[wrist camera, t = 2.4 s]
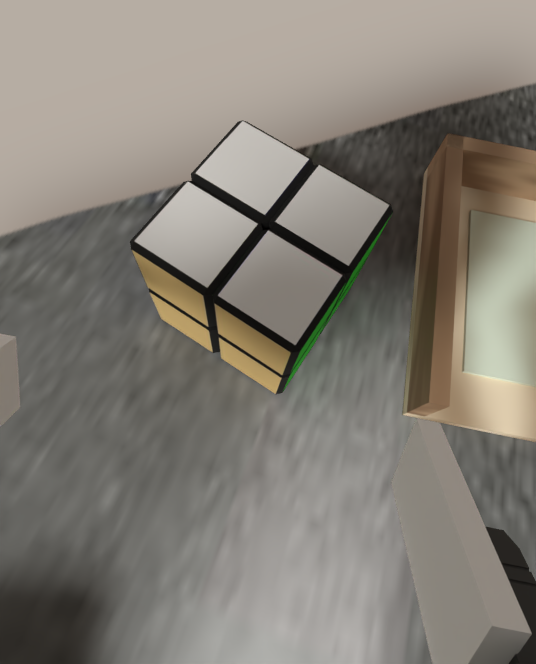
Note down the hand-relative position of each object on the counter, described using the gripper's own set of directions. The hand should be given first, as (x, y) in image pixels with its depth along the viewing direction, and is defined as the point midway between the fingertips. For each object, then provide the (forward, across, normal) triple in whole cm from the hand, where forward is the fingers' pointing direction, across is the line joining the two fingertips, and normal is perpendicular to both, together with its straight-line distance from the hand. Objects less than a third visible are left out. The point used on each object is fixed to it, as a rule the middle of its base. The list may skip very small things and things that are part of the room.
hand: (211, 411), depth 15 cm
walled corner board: (+20, +21, 0) cm, 29 cm away
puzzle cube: (+18, 0, -3) cm, 18 cm away
